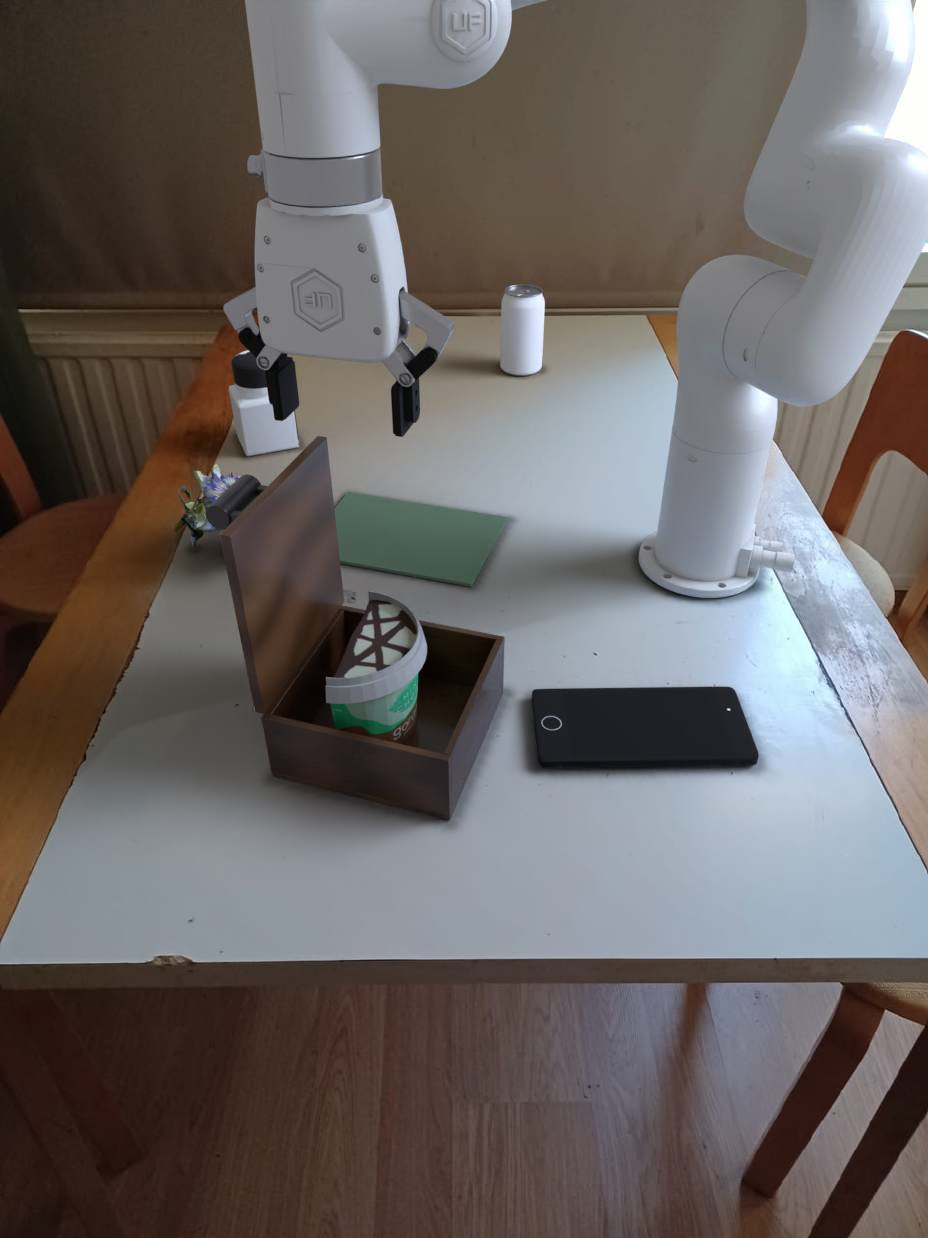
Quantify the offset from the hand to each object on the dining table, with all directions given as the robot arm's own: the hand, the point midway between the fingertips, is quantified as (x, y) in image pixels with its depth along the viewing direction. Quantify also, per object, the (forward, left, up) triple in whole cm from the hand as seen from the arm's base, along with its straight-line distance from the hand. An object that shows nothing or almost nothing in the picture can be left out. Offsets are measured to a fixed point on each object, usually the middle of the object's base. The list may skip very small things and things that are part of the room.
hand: (345, 421), depth 70 cm
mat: (+4, -22, -25) cm, 33 cm away
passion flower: (+22, -14, -25) cm, 36 cm away
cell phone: (-26, +1, -25) cm, 35 cm away
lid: (+2, +8, -9) cm, 12 cm away
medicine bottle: (+30, -39, -25) cm, 55 cm away
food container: (-6, +8, -24) cm, 26 cm away
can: (+4, -73, -25) cm, 77 cm away
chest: (-6, +8, -25) cm, 26 cm away
